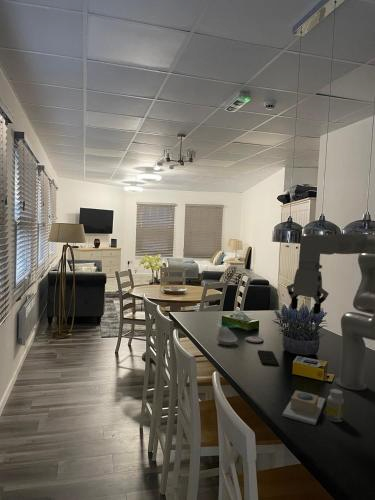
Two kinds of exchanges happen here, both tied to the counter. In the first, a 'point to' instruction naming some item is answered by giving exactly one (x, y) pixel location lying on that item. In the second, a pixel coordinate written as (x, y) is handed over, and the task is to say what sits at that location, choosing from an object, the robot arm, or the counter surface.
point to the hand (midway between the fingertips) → (305, 311)
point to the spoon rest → (226, 337)
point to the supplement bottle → (335, 405)
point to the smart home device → (267, 358)
